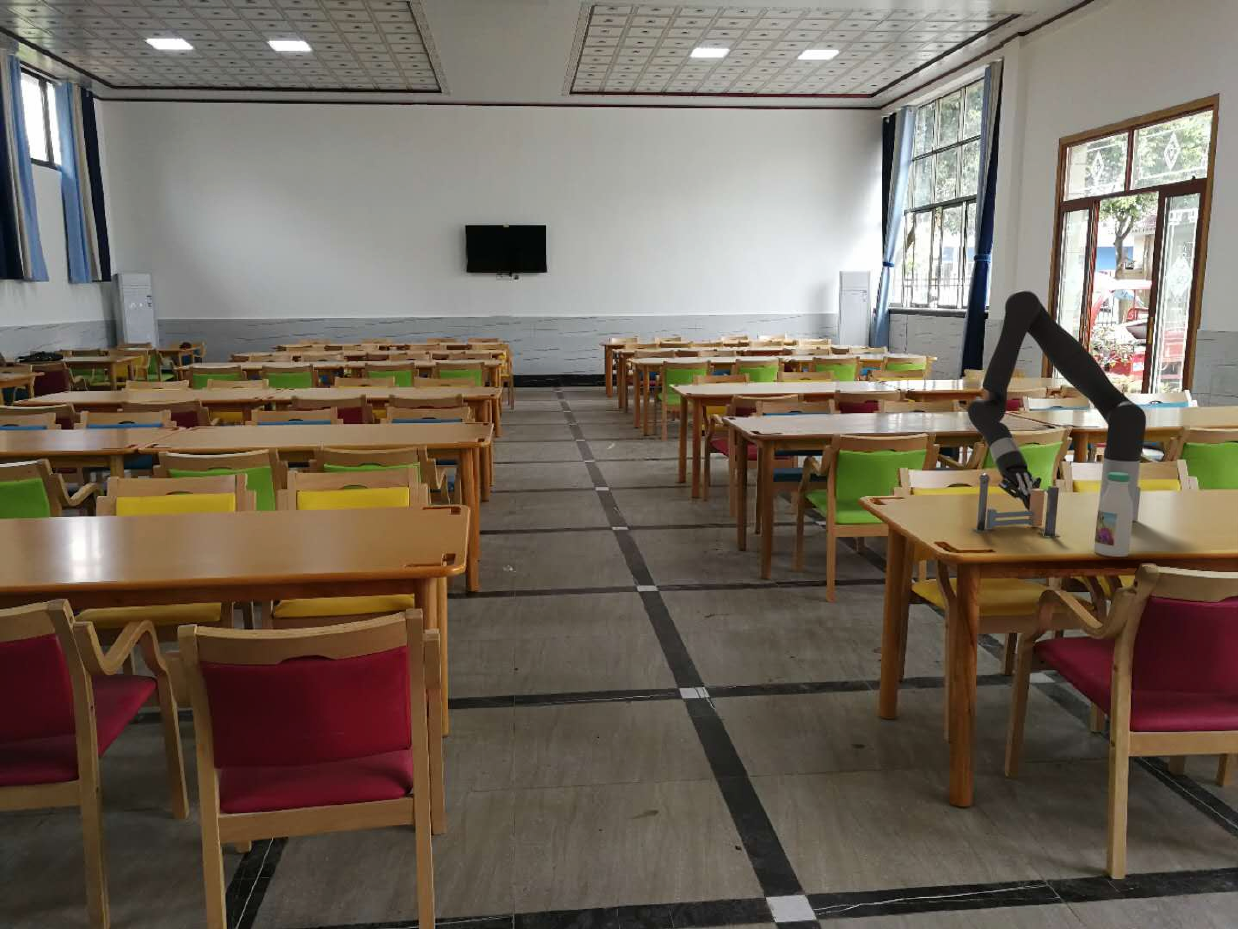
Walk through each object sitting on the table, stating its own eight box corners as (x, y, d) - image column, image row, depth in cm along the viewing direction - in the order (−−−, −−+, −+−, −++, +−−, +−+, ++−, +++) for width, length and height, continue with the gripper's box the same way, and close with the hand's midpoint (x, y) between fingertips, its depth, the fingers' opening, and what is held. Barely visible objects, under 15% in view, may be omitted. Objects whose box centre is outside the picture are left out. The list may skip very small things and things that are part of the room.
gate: (990, 529, 254) (993, 493, 253) (985, 527, 257) (987, 491, 255) (1041, 526, 258) (1044, 490, 257) (1035, 524, 261) (1038, 488, 259)
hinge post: (985, 529, 257) (989, 472, 254) (990, 532, 253) (995, 475, 250) (970, 529, 257) (974, 472, 254) (975, 532, 253) (980, 475, 250)
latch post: (1039, 532, 253) (1043, 485, 251) (1054, 533, 253) (1058, 485, 250) (1044, 536, 249) (1048, 488, 247) (1060, 537, 249) (1064, 488, 246)
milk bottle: (1121, 550, 236) (1129, 470, 233) (1134, 558, 229) (1142, 476, 225) (1088, 549, 237) (1096, 470, 234) (1101, 557, 230) (1109, 476, 226)
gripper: (994, 450, 265) (1018, 502, 256) (1035, 448, 268) (1061, 500, 259) (981, 465, 271) (1004, 517, 262) (1021, 464, 274) (1046, 515, 265)
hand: (1032, 509), depth 260 cm, fingers closed
